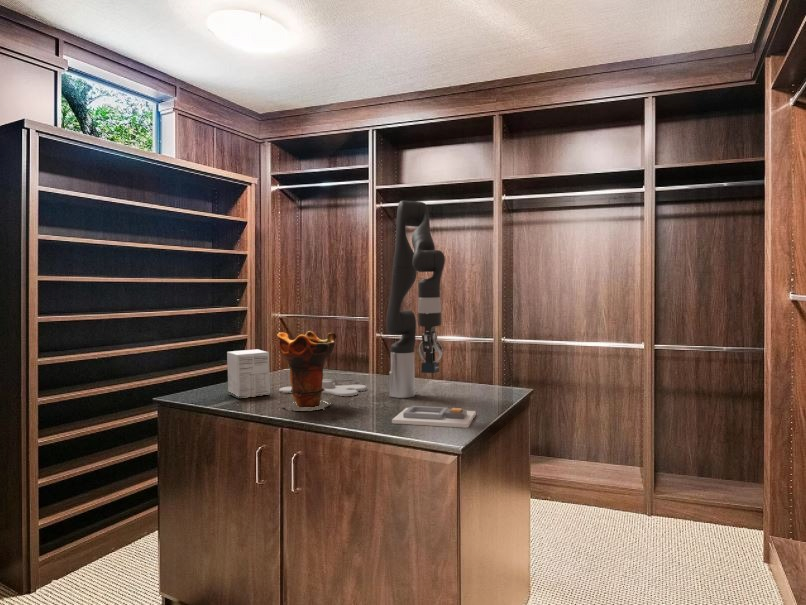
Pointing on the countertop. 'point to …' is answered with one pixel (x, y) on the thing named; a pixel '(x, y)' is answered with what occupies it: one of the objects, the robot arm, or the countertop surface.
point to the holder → (335, 388)
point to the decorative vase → (306, 365)
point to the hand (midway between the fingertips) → (430, 363)
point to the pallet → (434, 417)
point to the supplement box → (248, 372)
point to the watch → (434, 366)
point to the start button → (456, 410)
